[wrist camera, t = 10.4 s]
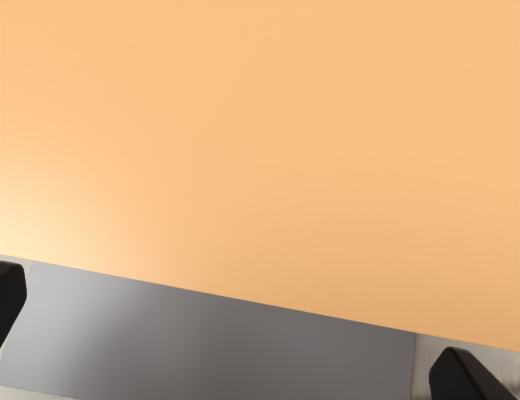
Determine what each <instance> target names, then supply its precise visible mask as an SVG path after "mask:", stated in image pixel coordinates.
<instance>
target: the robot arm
mask: <svg viewBox="0 0 520 400" xmlns="http://www.w3.org/2000/svg"><path fill="white" fill-rule="evenodd" d="M26 299H27V287H26V281H25V274H24V269H23V267H22V265H20V264H18V263H12V262H7V261H0V348H1V346H2V344H3V343H4V341H5V339H6V337H7V335H8V333H9V332H10V330H11V328H12V326H13V324H14V323H15V321H16V319H17V317H18V315H19V313H20V312H21V310H22V308H23V306H24V304H25V302H26ZM429 384H430V390H431V397H432V400H517V399H516V398H515V397H514V396H513V395H512V394H511V393H510V392H509V391H508V390H507V389H506V388H505V387H504V386H503V385H502V384H501V383H500V382H499V381H498V380H497V379H496V378H495V377H494V376H493V375H492V374H491V373H490V372H489V371H488V370H487V369H486V368H485V367H484V366H483V365H482V364H481V363H480V362H479V361H478V360H477V359H476V358H475V357H474V356H473V355H472V354H471V353H470V352H469V351H467V350H465V349H460V348H455V347H447V348H445V349H444V350H443V352H442V353H441V355H440V356H439V357H438V359H437V360H436V362H435V363H434V364H433V366H432V367H431V369H430V372H429Z"/></svg>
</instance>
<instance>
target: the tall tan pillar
mask: <svg viewBox="0 0 520 400" xmlns="http://www.w3.org/2000/svg"><path fill="white" fill-rule="evenodd" d="M0 254H3V255H9V256H14V257H19V258H25V259H30V260H35V261H40V262H46V263H51V264H56V265H62V266H67V267H72V268H77V269H83V270H88V271H93V272H99V273H104V274H109V275H114V276H120V277H125V278H130V279H136V280H141V281H146V282H151V283H157V284H162V285H167V286H173V287H178V288H183V289H188V290H194V291H199V292H204V293H210V294H215V295H220V296H225V297H231V298H236V299H241V300H247V301H252V302H257V303H262V304H268V305H273V306H278V307H284V308H289V309H294V310H299V311H305V312H310V313H315V314H321V315H326V316H331V317H337V318H342V319H347V320H352V321H358V322H363V323H368V324H374V325H379V326H384V327H389V328H395V329H400V330H405V331H411V332H416V333H421V334H426V335H432V336H437V337H442V338H448V339H453V340H458V341H463V342H469V343H474V344H479V345H485V346H490V347H495V348H500V349H506V350H511V351H516V352H520V0H0Z"/></svg>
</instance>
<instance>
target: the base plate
mask: <svg viewBox="0 0 520 400" xmlns="http://www.w3.org/2000/svg"><path fill="white" fill-rule="evenodd" d="M26 287H27V299H26V302H25V304H24V306H23V308H22V310H21V312H20V313H19V315H18V317H17V319H16V321H15V323H14V324H13V326H12V328H11V331H10V334H9V337H8V340H7V343H6V346H5V349H4V352H3V355H2V358H1V361H0V386H6V387H12V388H18V389H23V390H29V391H35V392H40V393H46V394H52V395H58V396H63V397H69V398H75V399H81V400H410V392H411V381H412V369H413V357H414V346H415V334H416V332H411V331H405V330H400V329H395V328H389V327H384V326H379V325H374V324H368V323H363V322H358V321H352V320H347V319H342V318H337V317H331V316H326V315H321V314H315V313H310V312H305V311H299V310H294V309H289V308H284V307H278V306H273V305H268V304H262V303H257V302H252V301H247V300H241V299H236V298H231V297H225V296H220V295H215V294H210V293H204V292H199V291H194V290H188V289H183V288H178V287H173V286H167V285H162V284H157V283H151V282H146V281H141V280H136V279H130V278H125V277H120V276H114V275H109V274H104V273H99V272H93V271H88V270H83V269H77V268H72V267H67V266H62V265H56V264H51V263H46V262H40V261H35V260H34V261H33V264H32V267H31V270H30V273H29V276H28V279H27V282H26Z"/></svg>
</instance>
